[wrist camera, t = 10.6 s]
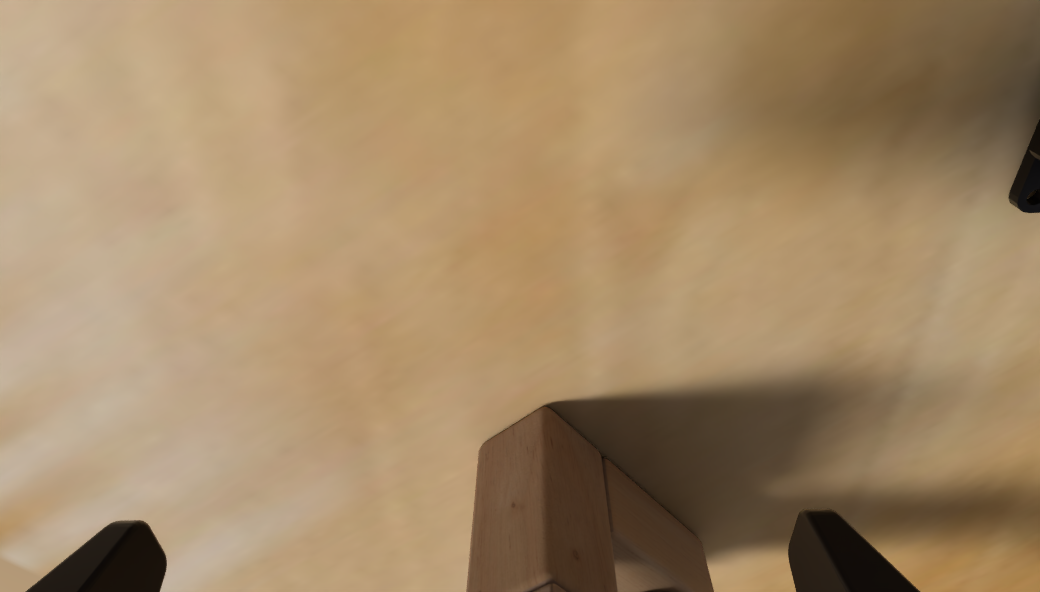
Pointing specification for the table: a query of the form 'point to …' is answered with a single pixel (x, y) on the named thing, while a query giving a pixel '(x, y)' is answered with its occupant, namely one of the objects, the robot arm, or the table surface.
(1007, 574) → the table surface
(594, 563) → the brown post on base
